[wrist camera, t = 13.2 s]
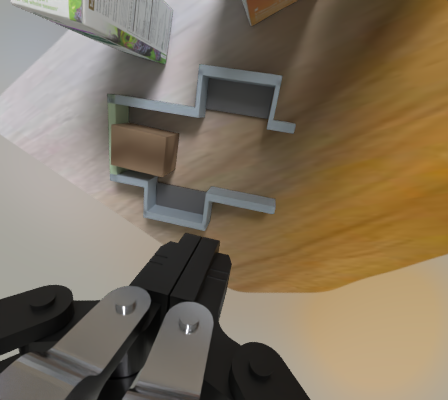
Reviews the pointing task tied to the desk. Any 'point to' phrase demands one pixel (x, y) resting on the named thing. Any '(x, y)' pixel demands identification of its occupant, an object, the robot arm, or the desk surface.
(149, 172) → the walnut block
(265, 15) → the small box
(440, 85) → the desk surface
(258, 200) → the trap channel
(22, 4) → the syrup box
